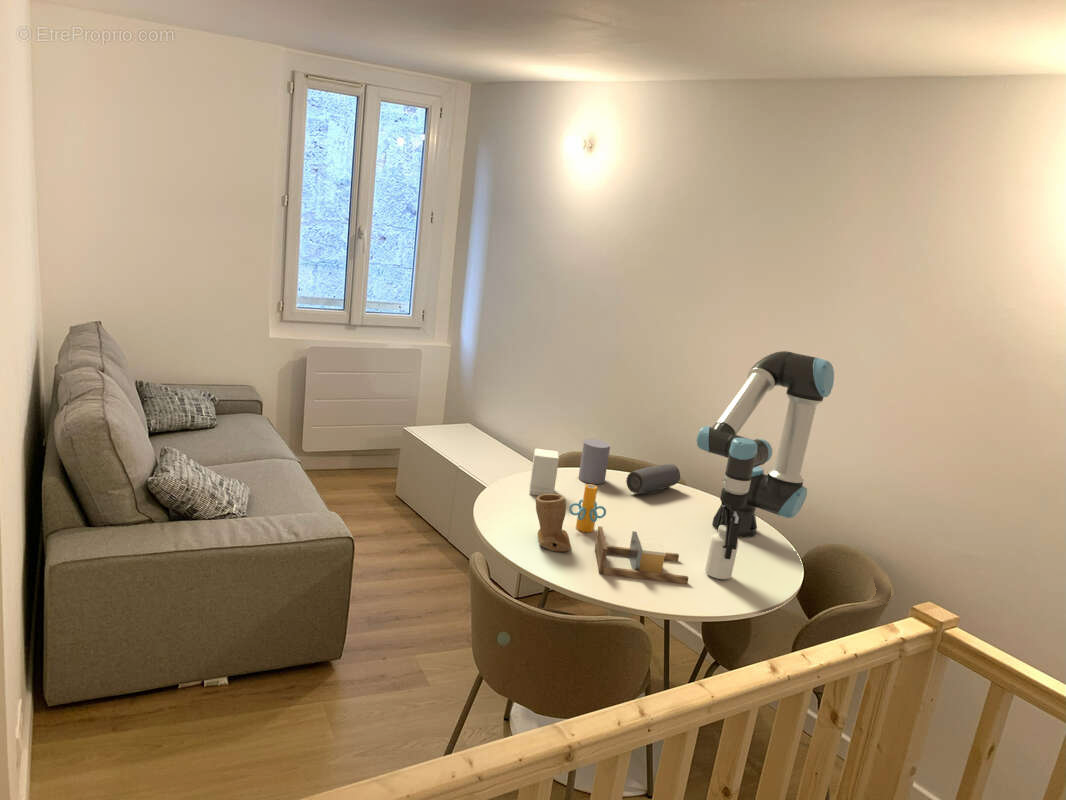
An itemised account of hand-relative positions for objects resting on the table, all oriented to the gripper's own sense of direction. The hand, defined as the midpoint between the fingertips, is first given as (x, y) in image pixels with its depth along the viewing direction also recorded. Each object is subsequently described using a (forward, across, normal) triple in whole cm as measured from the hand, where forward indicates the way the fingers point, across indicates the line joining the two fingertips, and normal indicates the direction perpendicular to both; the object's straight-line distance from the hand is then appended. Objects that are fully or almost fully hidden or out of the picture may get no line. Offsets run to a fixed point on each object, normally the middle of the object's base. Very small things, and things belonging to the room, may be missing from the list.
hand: (720, 561), depth 240 cm
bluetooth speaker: (+5, -69, -10) cm, 70 cm away
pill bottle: (+4, 0, 0) cm, 4 cm away
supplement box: (+5, -54, -53) cm, 76 cm away
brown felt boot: (+5, -10, -51) cm, 52 cm away
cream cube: (+5, 0, -21) cm, 22 cm away
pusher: (+5, 0, -26) cm, 26 cm away
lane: (+5, 0, -24) cm, 24 cm away
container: (+5, -74, -33) cm, 81 cm away
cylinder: (+5, -24, -39) cm, 46 cm away
